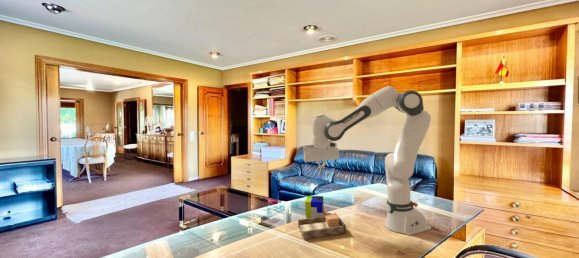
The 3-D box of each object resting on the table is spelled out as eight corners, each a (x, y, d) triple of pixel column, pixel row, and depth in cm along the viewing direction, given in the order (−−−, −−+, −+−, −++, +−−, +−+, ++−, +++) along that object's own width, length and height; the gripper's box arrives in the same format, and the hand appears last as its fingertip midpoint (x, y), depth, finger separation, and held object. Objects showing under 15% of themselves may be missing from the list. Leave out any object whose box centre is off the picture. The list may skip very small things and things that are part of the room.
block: (336, 221, 142) (335, 214, 142) (339, 225, 137) (338, 218, 137) (325, 222, 141) (325, 215, 141) (328, 226, 136) (328, 219, 136)
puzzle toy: (322, 218, 153) (321, 202, 152) (305, 217, 155) (305, 201, 154) (323, 211, 163) (323, 196, 162) (308, 211, 165) (307, 195, 164)
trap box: (336, 221, 147) (335, 213, 147) (345, 234, 132) (345, 224, 132) (298, 226, 144) (297, 217, 144) (303, 239, 129) (303, 230, 129)
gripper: (303, 146, 141) (305, 171, 142) (339, 143, 144) (340, 167, 145) (301, 144, 147) (302, 168, 148) (335, 142, 150) (336, 165, 151)
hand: (321, 168), depth 147 cm, fingers closed
